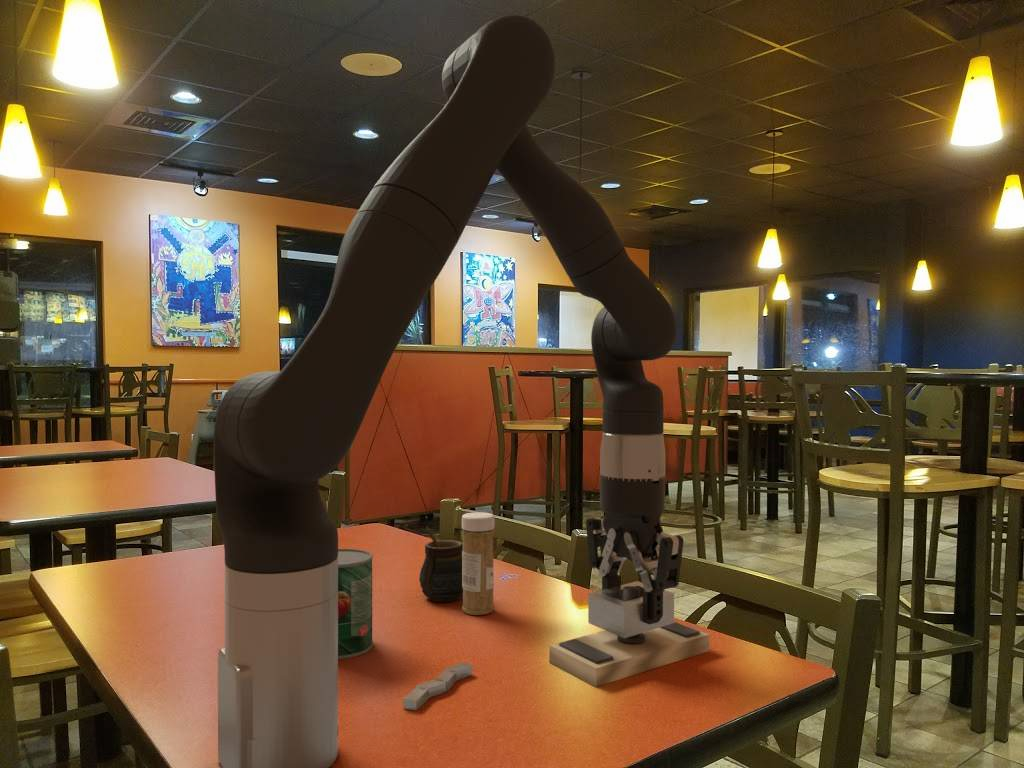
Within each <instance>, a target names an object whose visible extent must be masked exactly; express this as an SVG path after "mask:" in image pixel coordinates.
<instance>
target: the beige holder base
mask: <svg viewBox="0 0 1024 768" xmlns="http://www.w3.org/2000/svg"><path fill="white" fill-rule="evenodd" d="M637 598H640V588H638V587H634V586H626V587H624V588H623V601H624V602H626V601H629V600H633V599H637ZM548 646H549V647H548V649H549V653H548V654H549V657H548V659H549V661H548V662H549V664H552V665H554V667H557V668H559V669H561V670H563V672H564V671H565V672H567V673H568V674H569V675H572V676H574V677H576V678H578V679H580V680H582V681H584V682H585V683H587V684H589V685H591V686H593V687H595V688H596V687H600V686H604V685H607V684H610V683H613V682H616V681H620V680H622V679H626V678H628V677H632V676H635V675H639V674H641V673H644V672H648V671H650V670H654V669H657V668H659V667H664V666H666V665H670V664H673V663H675V662H678V661H682V660H686V659H688V658H692V657H695V656H698V655H701V654H704V653H707V652H710V634H709V633H707V632H704V631H701V630H699V629H697V628H694V627H691V626H687V625H685V624H682V623H680V622H677V621H675V620H674V623H672V624H669V625H666V626H663V627H660V628H656V629H653V630H650V631H647V632H643V633H640V634H637V635H634V636H631V637H627V638H622V637H620V636H617V635H615V634H613V633H610V632H608V631H606V630H602V631H598V632H594V633H590V634H587V635H583V636H579V637H576V638H573V639H568V640H567V639H566V640H564V641H560V642H556V643H553V644H549V645H548Z"/></svg>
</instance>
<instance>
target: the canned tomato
mask: <svg viewBox="0 0 1024 768" xmlns="http://www.w3.org/2000/svg"><path fill="white" fill-rule="evenodd" d="M373 556H374V555H373V554H372V553H371V552H370V551H366V550H363V549H360V548H359V549H358V548H338V660H345V659H350V658H355V657H359V656H361V655H364V654H366V653H367V652H369V651H370V650H371V649H372V647H373V644H374V642H373Z"/></svg>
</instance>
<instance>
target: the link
mask: <svg viewBox="0 0 1024 768" xmlns="http://www.w3.org/2000/svg"><path fill="white" fill-rule="evenodd" d="M626 586H634V587H638V588H640V598H637V599H633V600H629V601H626V602H624V601H623V588H624V587H626ZM643 591H645V589H644V586H643V582H642V581H639V580H638V581H637V580H636V581H633V582H629V583H624V584H621V586H617V587H613V588H609V589H604V590H602V589H601V590H597V591H592V592H589V593H587V596H588V597H587V601H588V604H587V605H588V607H587V608H588V611H587V612H588V613H587V614H588V617H587V618H588V620H587V621H588V624H589V625H592V626H594V627H597V628H599V629H601V630H603V631H605V630H606V631H608V632H610V633H613V634H615V635H617V636H620V637H622V638H627V637H631V636H634V635H637V634H640V633H643V632H647V631H650V630H653V629H656V628H660V627H663V626H666V625H669V624H672V623H674V621H675V593H674V592H672V591H668V590H666V589H665V590H664V591H663V615H662V618H661V619H660V621H659V622H657V623H654V624H650V625H649V624H647V623H644V622H643Z"/></svg>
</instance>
